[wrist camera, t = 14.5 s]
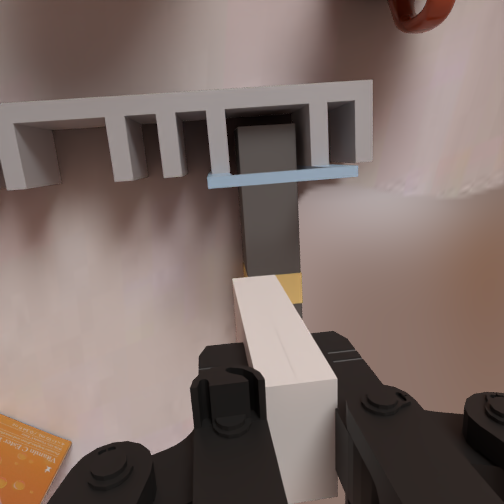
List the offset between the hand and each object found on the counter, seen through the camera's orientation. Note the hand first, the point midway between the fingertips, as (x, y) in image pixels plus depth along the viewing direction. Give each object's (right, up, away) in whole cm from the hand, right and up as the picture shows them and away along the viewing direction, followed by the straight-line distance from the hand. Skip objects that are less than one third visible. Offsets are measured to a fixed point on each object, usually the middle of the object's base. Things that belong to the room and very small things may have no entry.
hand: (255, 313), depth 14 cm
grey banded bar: (+1, +4, +20) cm, 20 cm away
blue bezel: (+1, +9, +18) cm, 20 cm away
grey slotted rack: (-7, +11, +17) cm, 21 cm away
